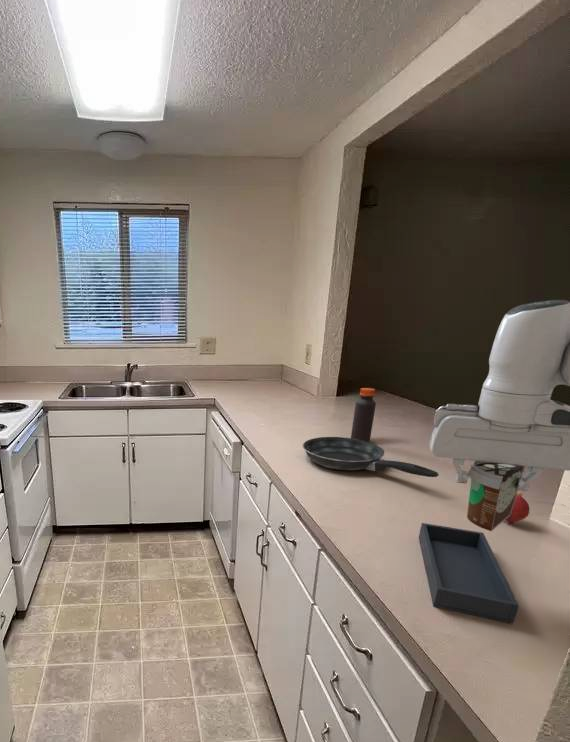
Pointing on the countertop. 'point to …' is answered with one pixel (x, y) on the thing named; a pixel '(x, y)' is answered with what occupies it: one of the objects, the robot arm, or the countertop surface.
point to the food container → (492, 493)
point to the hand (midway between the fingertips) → (490, 485)
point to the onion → (519, 509)
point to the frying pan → (356, 456)
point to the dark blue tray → (465, 573)
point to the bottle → (364, 415)
